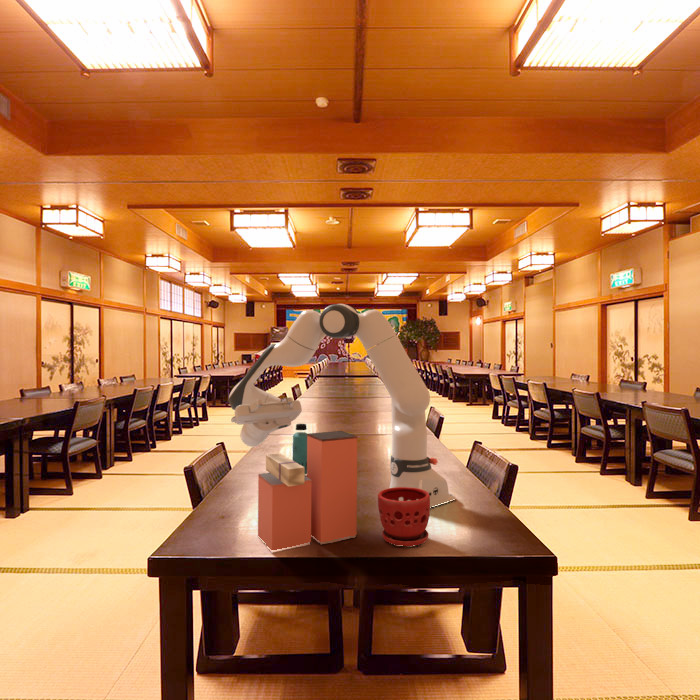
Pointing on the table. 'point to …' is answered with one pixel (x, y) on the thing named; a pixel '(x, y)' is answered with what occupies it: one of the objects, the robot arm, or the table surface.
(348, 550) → the table surface
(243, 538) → the table surface
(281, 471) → the box
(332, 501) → the stand
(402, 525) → the plant pot
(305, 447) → the beverage bottle
